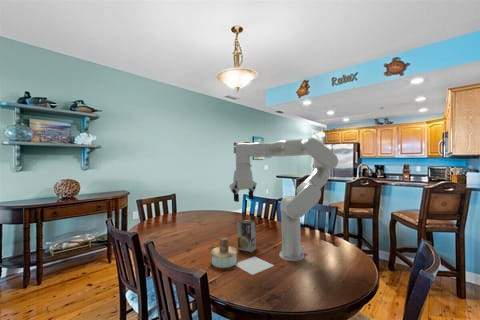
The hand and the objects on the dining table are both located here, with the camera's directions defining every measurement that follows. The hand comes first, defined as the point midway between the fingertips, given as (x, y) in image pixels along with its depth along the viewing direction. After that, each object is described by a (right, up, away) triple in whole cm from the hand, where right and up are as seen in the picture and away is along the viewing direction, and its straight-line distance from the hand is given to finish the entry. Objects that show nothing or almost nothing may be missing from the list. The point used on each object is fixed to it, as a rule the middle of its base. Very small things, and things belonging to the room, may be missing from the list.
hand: (243, 200), depth 123 cm
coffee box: (+2, -30, +13) cm, 33 cm away
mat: (+5, -30, -8) cm, 32 cm away
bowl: (-10, -31, -4) cm, 32 cm away
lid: (-10, -26, -4) cm, 28 cm away
